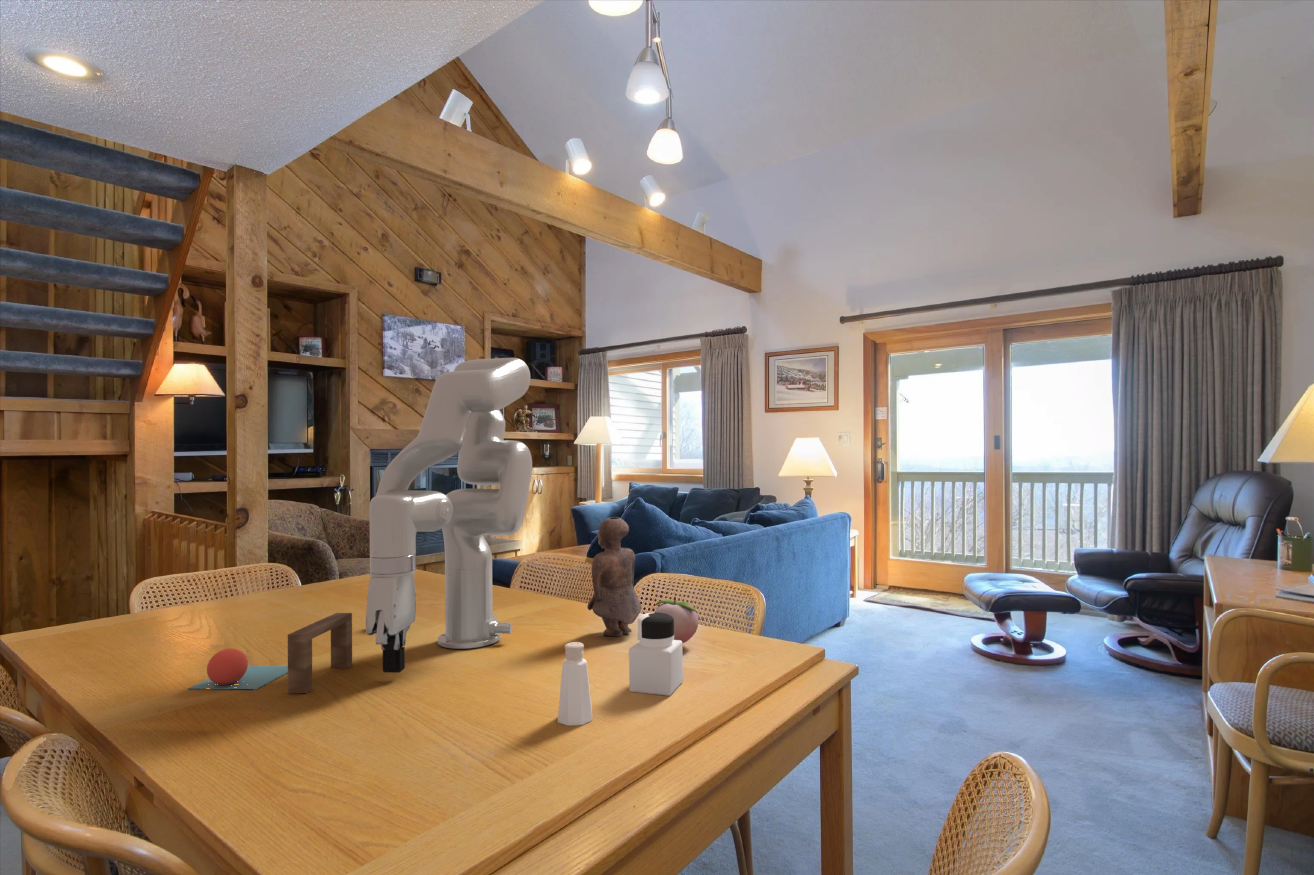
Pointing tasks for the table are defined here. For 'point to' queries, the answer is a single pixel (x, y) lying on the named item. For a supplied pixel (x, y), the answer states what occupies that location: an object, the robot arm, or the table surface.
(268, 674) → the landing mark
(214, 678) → the ball
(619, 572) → the clay figurine
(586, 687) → the pepper shaker
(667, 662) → the medicine bottle
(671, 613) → the decorative fruit
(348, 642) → the bridge
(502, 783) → the table surface
